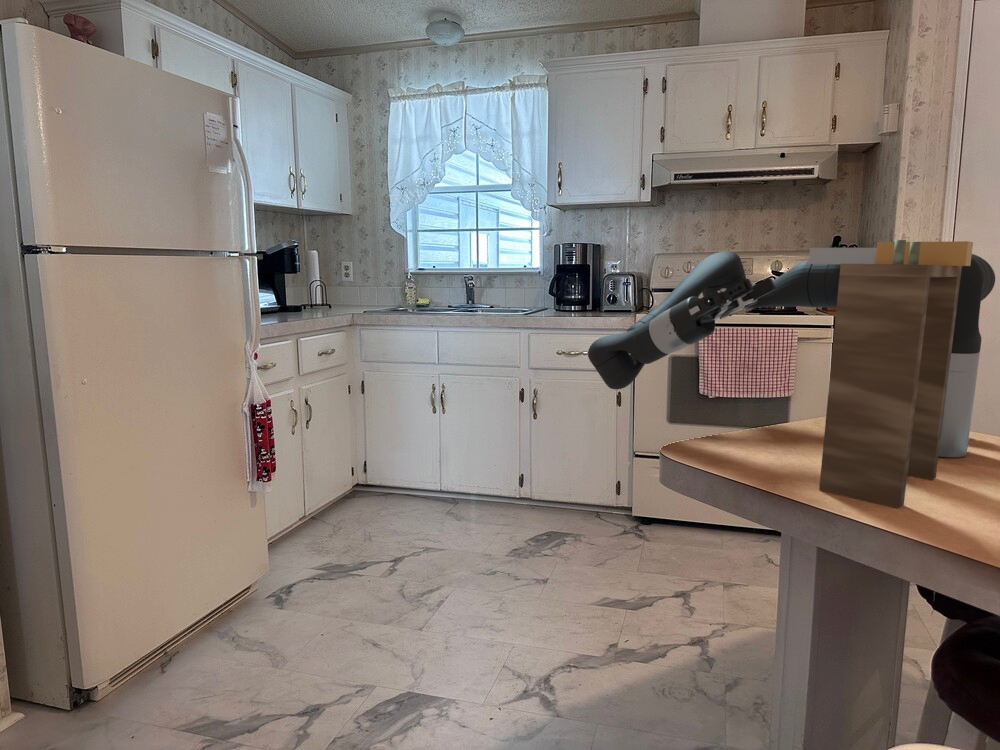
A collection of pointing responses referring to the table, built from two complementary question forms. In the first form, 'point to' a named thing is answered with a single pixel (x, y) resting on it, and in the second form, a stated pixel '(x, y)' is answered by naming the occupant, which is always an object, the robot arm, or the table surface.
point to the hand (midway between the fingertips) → (761, 283)
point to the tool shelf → (888, 376)
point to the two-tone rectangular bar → (883, 254)
